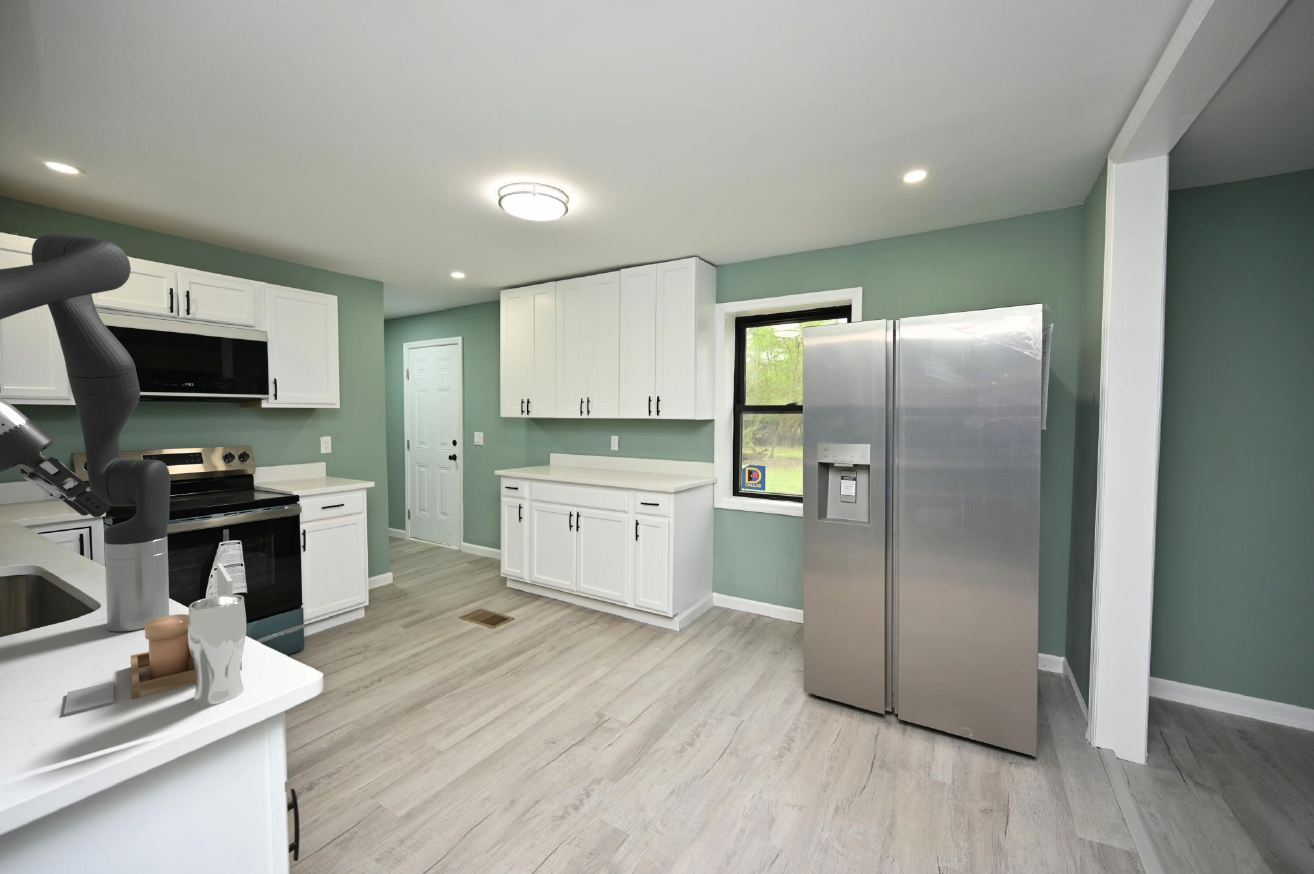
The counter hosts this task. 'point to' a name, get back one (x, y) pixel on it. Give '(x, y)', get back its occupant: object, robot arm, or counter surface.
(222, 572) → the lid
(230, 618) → the beer glass
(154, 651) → the peach mushroom shaped stopper
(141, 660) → the open wooden box
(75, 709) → the tile
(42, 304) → the robot arm
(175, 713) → the counter surface
